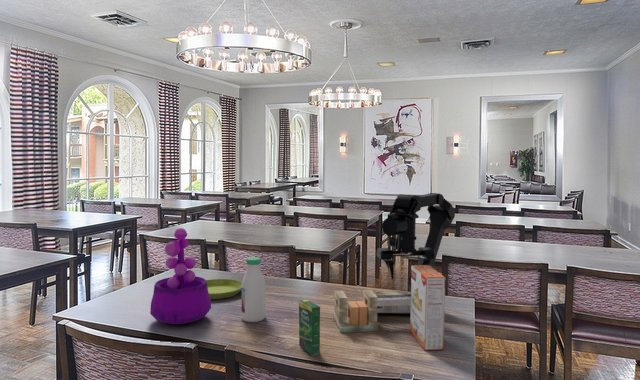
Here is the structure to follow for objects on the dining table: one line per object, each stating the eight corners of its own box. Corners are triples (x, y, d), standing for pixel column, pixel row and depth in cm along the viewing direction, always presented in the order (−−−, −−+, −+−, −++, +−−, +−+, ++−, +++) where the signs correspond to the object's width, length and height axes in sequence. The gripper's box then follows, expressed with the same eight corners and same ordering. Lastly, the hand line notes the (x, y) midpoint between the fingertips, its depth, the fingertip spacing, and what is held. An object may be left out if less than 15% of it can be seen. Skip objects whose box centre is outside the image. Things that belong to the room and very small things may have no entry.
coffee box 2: (297, 345, 127) (298, 299, 126) (306, 343, 129) (307, 298, 128) (310, 356, 120) (311, 308, 119) (320, 354, 121) (321, 306, 121)
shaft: (430, 310, 149) (431, 279, 148) (434, 313, 146) (435, 281, 145) (370, 313, 146) (371, 281, 145) (373, 316, 143) (373, 283, 142)
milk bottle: (269, 316, 150) (269, 257, 149) (258, 324, 143) (259, 261, 141) (248, 313, 153) (248, 255, 151) (237, 321, 145) (237, 259, 144)
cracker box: (408, 331, 138) (410, 264, 137) (427, 331, 139) (430, 264, 137) (422, 351, 124) (425, 276, 123) (444, 350, 125) (446, 276, 123)
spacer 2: (363, 318, 147) (363, 300, 147) (367, 324, 141) (367, 306, 141) (355, 318, 147) (356, 301, 146) (359, 325, 141) (359, 306, 141)
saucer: (254, 291, 178) (254, 283, 178) (216, 305, 161) (216, 296, 161) (216, 283, 189) (216, 275, 189) (177, 295, 172) (177, 287, 172)
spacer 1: (354, 318, 146) (354, 301, 146) (358, 325, 141) (358, 307, 140) (347, 319, 146) (347, 301, 146) (350, 325, 140) (350, 307, 140)
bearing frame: (368, 317, 150) (369, 287, 150) (378, 330, 139) (379, 298, 138) (333, 318, 149) (333, 288, 148) (340, 332, 137) (340, 300, 136)
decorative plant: (187, 335, 133) (186, 234, 131) (137, 326, 140) (135, 230, 138) (222, 314, 151) (222, 225, 149) (176, 307, 157) (175, 222, 155)
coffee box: (364, 290, 160) (409, 291, 160) (364, 309, 159) (410, 309, 160) (368, 294, 150) (416, 294, 151) (368, 313, 150) (416, 314, 150)
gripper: (424, 228, 159) (422, 272, 160) (372, 228, 156) (371, 273, 157) (437, 233, 148) (435, 280, 149) (381, 234, 145) (380, 282, 146)
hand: (405, 278), depth 150 cm, fingers open, 9 cm apart
